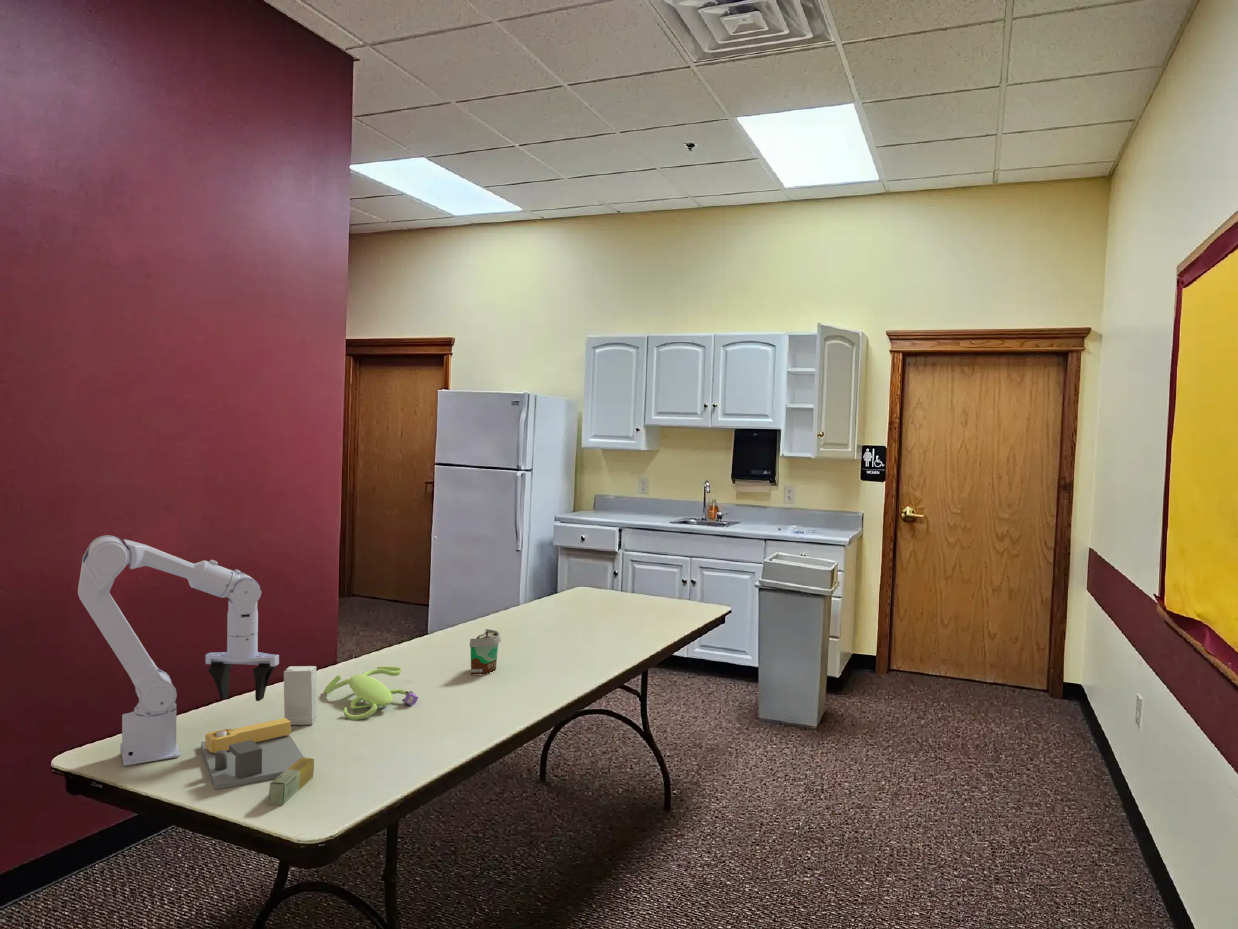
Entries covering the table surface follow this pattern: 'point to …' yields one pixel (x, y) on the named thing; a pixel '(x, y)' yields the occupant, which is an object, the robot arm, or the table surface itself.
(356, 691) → the figurine
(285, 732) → the link
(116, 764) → the table surface
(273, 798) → the medication box
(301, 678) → the skincare box
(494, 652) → the food container
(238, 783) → the base
